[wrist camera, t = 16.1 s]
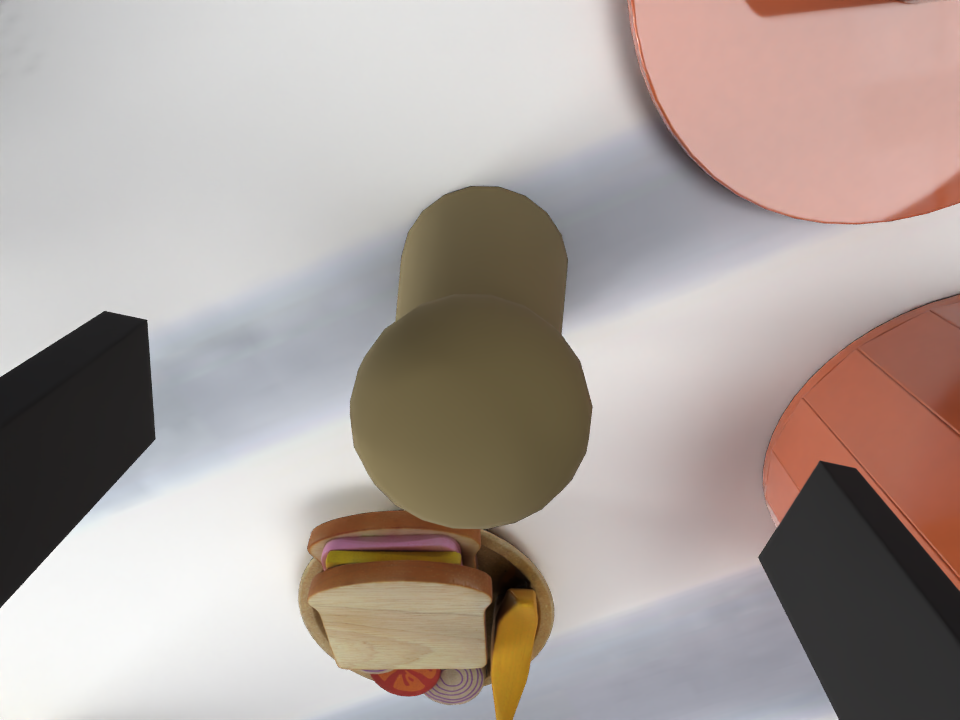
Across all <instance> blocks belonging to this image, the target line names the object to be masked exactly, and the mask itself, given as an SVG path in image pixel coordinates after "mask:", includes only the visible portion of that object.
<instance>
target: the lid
mask: <svg viewBox="0 0 960 720" xmlns="http://www.w3.org/2000/svg"><path fill="white" fill-rule="evenodd" d="M628 9H629V19H630V29H631V33H632V37H633V42H634V46H635V50H636V55H637V59H638V63H639V67H640V70H641V72H642V75H643V78H644V80H645V83H646V86H647V88H648V91H649V94H650V96H651V99H652V101H653V103H654V105H655V107H656V108H657V110H658V112H659V114H660V116H661V118H662V120H663V121H664V123H665V125H666V127H667V129H668V130H669V131H670V133H671V134H672V135H673V137H674V138H675V139H676V141H677V142H678V143H679V145H680V146H681V147H682V149H683V150H684V151H685V153H686V154H687V155H688V156H689V157H690V158H691V159H692V160H693V161H694V162H695V163H696V164H697V165H698V166H699V167H700V168H701V169H702V170H703V171H704V172H705V173H706V174H707V175H709V176H710V177H711V178H713V179H714V180H716V181H717V182H718V183H720V184H721V185H723V186H724V187H726V188H727V189H728V190H730V191H731V192H733V193H734V194H736V195H737V196H739V197H741V198H743V199H745V200H747V201H749V202H751V203H753V204H756V205H758V206H760V207H762V208H764V209H766V210H769V211H772V212H775V213H779V214H782V215H785V216H788V217H791V218H795V219H801V220H807V221H813V222H819V223H825V224H856V225H857V224H868V223H878V222H889V221H894V220H899V219H904V218H909V217H913V216H918V215H923V214H927V213H930V212H933V211H936V210H939V209H943V208H946V207H949V206H952V205H955V204H958V203H960V0H628Z"/></svg>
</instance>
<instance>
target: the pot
mask: <svg viewBox="0 0 960 720" xmlns="http://www.w3.org/2000/svg"><path fill="white" fill-rule="evenodd" d="M819 461H824V462H829V463H834V464H839V465H844V466H848V467H853V468H856V469H857V470H858V471H859V472H860V473H861V475H862V476H863V477H864V478H865V479H866V481H867V482H868V483H869V484H870V485H871V487H872V488H873V489H874V490H875V491H876V492H877V494H878V495H879V496H880V497H881V498H882V500H883V501H884V502H885V503H886V504H887V505H888V507H889V508H890V509H891V510H892V511H893V513H894V514H895V515H896V516H897V517H898V519H899V520H900V521H901V522H902V523H903V524H904V526H905V527H906V528H907V529H908V530H909V532H910V533H911V534H912V535H913V536H914V537H915V539H916V540H917V541H918V542H919V543H920V545H921V546H922V547H923V548H924V549H925V551H926V552H927V553H928V554H929V555H930V556H931V558H932V559H933V560H934V561H935V562H936V564H937V565H938V566H939V567H940V568H941V569H942V571H943V572H944V573H945V574H946V575H947V577H948V578H949V579H950V580H951V581H952V583H953V584H954V585H955V586H956V587H957V588H958V590H959V591H960V295H956V296H953V297H949V298H946V299H942V300H939V301H936V302H932V303H929V304H927V305H924V306H922V307H919V308H917V309H914V310H912V311H909V312H907V313H904V314H902V315H900V316H898V317H896V318H894V319H892V320H890V321H888V322H886V323H884V324H882V325H880V326H878V327H876V328H874V329H873V330H871V331H870V332H868V333H867V334H865V335H863V336H862V337H860V338H859V339H857V340H856V341H854V342H852V343H851V344H849V345H848V346H847V347H846V348H844V349H843V350H842V351H841V352H839V353H838V354H837V355H835V356H834V357H833V358H832V359H830V360H829V361H828V362H827V363H826V364H825V365H824V366H823V367H822V368H820V369H819V370H818V371H817V372H816V373H815V374H814V375H813V376H812V377H811V378H810V379H809V380H808V381H807V383H806V384H805V385H804V386H803V387H802V388H801V390H800V391H799V392H798V393H797V394H796V396H795V397H794V398H793V400H792V401H791V403H790V404H789V406H788V407H787V409H786V410H785V412H784V413H783V415H782V416H781V418H780V420H779V422H778V424H777V426H776V428H775V430H774V432H773V434H772V437H771V440H770V443H769V446H768V449H767V452H766V456H765V462H764V468H763V491H764V496H765V501H766V505H767V508H768V510H769V513H770V515H771V518H772V520H773V522H774V523H775V526H776V528H777V527H778V525H779V524H780V522H781V521H782V519H783V518H784V516H785V514H786V513H787V511H788V510H789V508H790V507H791V505H792V503H793V502H794V500H795V499H796V497H797V496H798V494H799V492H800V491H801V489H802V488H803V486H804V484H805V483H806V481H807V480H808V478H809V477H810V475H811V473H812V472H813V470H814V469H815V467H816V466H817V464H818V462H819Z"/></svg>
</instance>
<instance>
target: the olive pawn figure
mask: <svg viewBox="0 0 960 720" xmlns="http://www.w3.org/2000/svg"><path fill="white" fill-rule="evenodd" d="M567 265H568V258H567V254H566V250H565V246H564V242H563V239H562V235H561V233H560V232H559V230H558V229H557V227H556V226H555V224H554V223H553V221H552V220H551V218H550V217H549V215H548V214H547V212H545V211H544V210H543V209H542V208H540V207H539V206H538V205H536V204H535V203H534V202H533V201H531V200H530V199H529V198H527V197H526V196H524V195H521V194H518V193H516V192H513V191H510V190H507V189H504V188H501V187H480V186H471V187H467V188H464V189H461V190H458V191H455V192H452V193H449V194H446V195H444V196H442V197H441V198H440V199H438V200H437V201H436V202H434V203H433V204H432V205H430V206H429V207H428V208H426V209H425V210H423V211H422V213H421V214H420V216H419V217H418V219H417V220H416V222H415V223H414V225H413V226H412V228H411V229H410V230H409V232H408V235H407V238H406V242H405V246H404V249H403V253H402V257H401V266H400V277H399V288H398V299H397V310H396V321H395V322H394V323H393V324H391V325H390V326H388V327H387V328H385V329H384V331H383V332H382V333H381V335H380V336H379V337H378V339H377V340H376V342H375V343H374V344H373V346H372V347H371V349H370V350H369V351H368V353H367V354H366V355H365V357H364V359H363V361H362V363H361V365H360V367H359V369H358V372H357V376H356V380H355V384H354V388H353V392H352V396H351V399H350V419H351V427H352V435H353V443H354V448H355V450H356V452H357V454H358V455H359V457H360V459H361V461H362V463H363V465H364V467H365V469H366V471H367V473H368V475H369V476H370V478H371V479H372V481H373V482H374V484H375V485H376V486H377V487H378V488H379V489H380V490H381V491H382V492H383V493H384V494H385V495H386V496H387V497H388V498H389V499H390V500H391V501H392V502H393V503H394V504H395V505H396V506H398V507H400V508H402V509H403V510H405V511H407V512H409V513H411V514H412V515H414V516H416V517H418V518H419V519H421V520H424V521H427V522H431V523H435V524H438V525H442V526H446V527H450V528H457V529H488V528H493V527H498V526H503V525H507V524H512V523H516V522H518V521H520V520H522V519H524V518H526V517H528V516H530V515H532V514H534V513H536V512H538V511H540V510H542V509H543V508H544V507H545V506H546V505H547V504H548V503H549V502H550V501H551V500H552V499H553V498H554V497H555V496H557V495H558V494H559V493H560V492H561V491H562V490H563V489H564V488H565V487H566V486H567V485H568V483H569V482H570V481H571V480H572V479H573V477H574V475H575V473H576V471H577V469H578V467H579V465H580V463H581V462H582V460H583V458H584V456H585V454H586V451H587V446H588V440H589V433H590V424H591V416H592V407H593V406H592V403H591V399H590V395H589V392H588V388H587V384H586V381H585V377H584V373H583V370H582V366H581V363H580V360H579V359H578V357H577V356H576V355H575V353H574V352H573V350H572V349H571V348H570V346H569V345H568V343H567V342H566V341H565V339H564V338H563V336H562V335H561V333H562V322H563V312H564V301H565V290H566V278H567Z"/></svg>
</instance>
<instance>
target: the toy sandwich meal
mask: <svg viewBox="0 0 960 720" xmlns="http://www.w3.org/2000/svg"><path fill="white" fill-rule="evenodd" d="M307 549H308V552H309V553H310V554H311V555H312V556H313V559H312V560H311V561H310V563H309V564H308V566H307V567H306V569H305V571H304V573H303V576H302V579H301V582H300V586H299V595H298V601H299V608H300V613H301V616H302V619H303V621H304V624H305V626H306V628H307V629H308V631H309V633H310V634H311V636H312V637H313V639H314V640H315V641H316V642H317V644H318V645H319V646H320V647H321V648H322V649H323V650H324V651H325V652H326V653H327V654H328V655H330V656H331V657H332V658H333V659H334V660H335V661H336V664H337V665H338V667H339V668H342V669H349V670H351V671H353V672H355V673H357V674H359V675H361V676H363V677H365V678H368V679H371V680H373V681H375V683H377V684H378V685H379V686H380V687H381V688H383V689H384V690H386V691H387V692H390V693H392V694H396V695H399V696H417V695H421V694H423V693H424V694H425V695H426V696H427V697H428V698H430V699H431V700H433V701H435V702H438V703H442V704H447V705H457V704H463V703H466V702H469V701H470V700H472V699H473V698H475V697H476V696H477V695H478V694H479V693H480V691H481V689H482V688H483V686H486V685H489V684H492V690H493V697H494V704H495V712H496V720H513V717H514V714H515V711H516V708H517V706H518V703H519V700H520V698H521V695H522V692H523V690H524V687H525V684H526V681H527V677H528V673H529V668H530V662H531V661H532V660H533V659H534V658H535V657H536V656H537V655H538V654H539V652H540V651H541V650H542V648H543V647H544V645H545V644H546V642H547V640H548V638H549V636H550V633H551V630H552V627H553V622H554V603H553V599H552V595H551V592H550V589H549V587H548V585H547V583H546V581H545V579H544V577H543V576H542V574H541V573H540V571H539V570H538V569H537V567H536V566H535V565H534V564H533V563H532V562H531V561H530V560H529V559H528V558H527V557H526V556H525V555H524V554H523V553H522V552H520V551H519V550H518V549H517V548H515V547H514V546H513V545H511V544H510V543H508V542H507V541H505V540H503V539H501V538H499V537H498V536H496V535H494V534H492V533H490V532H487V531H485V530H482V529H457V528H450V527H446V526H442V525H438V524H435V523H431V522H427V521H424V520H421V519H419V518H418V517H416V516H414V515H412V514H411V513H409V512H407V511H405V510H398V511H382V512H370V513H363V514H357V515H351V516H347V517H342V518H338V519H334V520H331V521H328V522H326V523H323V524H321V525H319V526H317V527H316V528H314V529H313V531H312V532H311V536H310V539H309V543H308V547H307Z"/></svg>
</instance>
